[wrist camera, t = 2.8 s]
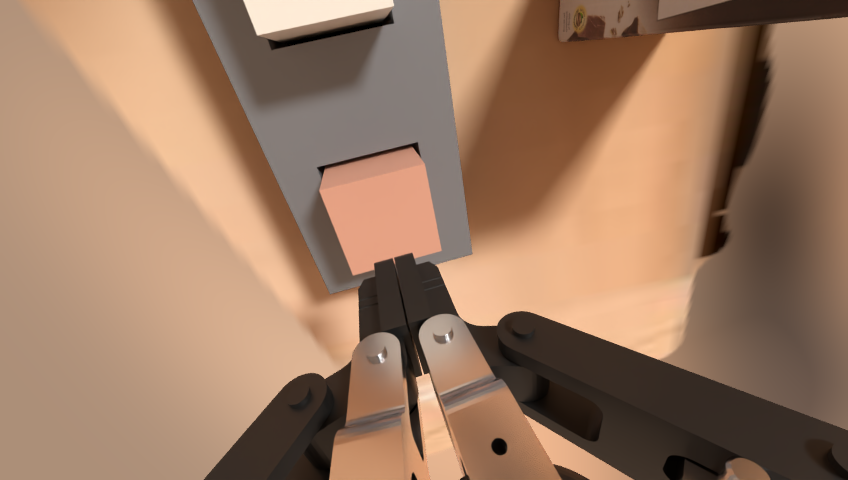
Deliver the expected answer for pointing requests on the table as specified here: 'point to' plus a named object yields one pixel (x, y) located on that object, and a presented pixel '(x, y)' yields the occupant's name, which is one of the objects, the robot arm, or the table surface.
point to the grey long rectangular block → (347, 114)
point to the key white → (313, 16)
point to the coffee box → (682, 15)
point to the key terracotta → (381, 207)
